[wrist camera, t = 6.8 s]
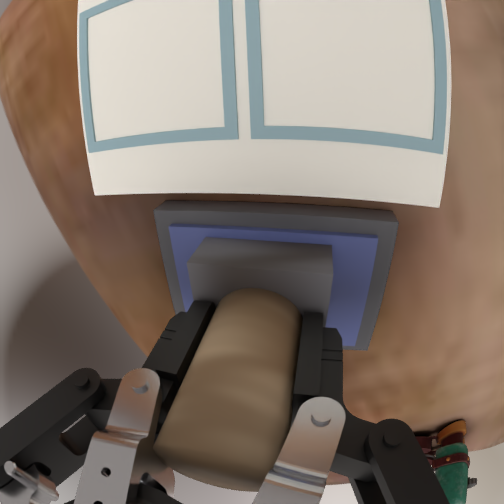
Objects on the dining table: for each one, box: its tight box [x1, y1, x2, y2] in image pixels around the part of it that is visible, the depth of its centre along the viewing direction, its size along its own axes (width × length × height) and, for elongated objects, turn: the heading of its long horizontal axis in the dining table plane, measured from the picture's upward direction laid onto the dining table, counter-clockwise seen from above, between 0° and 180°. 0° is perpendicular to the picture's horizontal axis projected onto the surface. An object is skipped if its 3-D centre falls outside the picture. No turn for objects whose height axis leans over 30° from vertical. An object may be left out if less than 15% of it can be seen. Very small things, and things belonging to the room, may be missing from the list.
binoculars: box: [416, 421, 477, 504], centre depth 16 cm, size 9×11×10 cm
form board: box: [77, 0, 451, 208], centre depth 9 cm, size 16×12×1 cm
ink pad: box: [153, 201, 399, 350], centre depth 13 cm, size 10×7×2 cm
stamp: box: [153, 237, 333, 492], centre depth 9 cm, size 5×5×8 cm
